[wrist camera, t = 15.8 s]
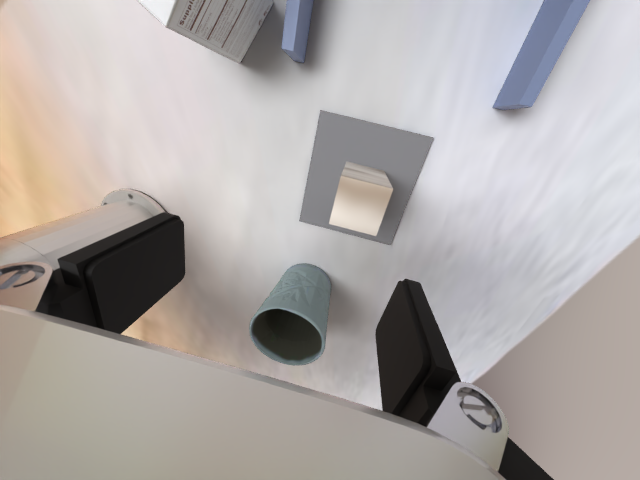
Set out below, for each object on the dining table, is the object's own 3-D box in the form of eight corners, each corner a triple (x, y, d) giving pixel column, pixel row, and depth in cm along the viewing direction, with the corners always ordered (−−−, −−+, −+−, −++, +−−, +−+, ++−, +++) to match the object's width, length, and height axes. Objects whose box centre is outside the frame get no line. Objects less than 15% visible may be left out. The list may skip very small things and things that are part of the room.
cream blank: (372, 206, 33) (376, 236, 24) (337, 197, 33) (328, 223, 25) (383, 170, 31) (393, 188, 22) (346, 161, 31) (340, 175, 22)
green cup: (338, 305, 42) (331, 366, 32) (285, 308, 45) (261, 366, 34) (328, 255, 38) (315, 306, 28) (270, 261, 41) (237, 310, 30)
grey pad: (389, 243, 36) (390, 245, 35) (300, 219, 36) (299, 221, 36) (432, 137, 29) (433, 137, 28) (321, 110, 30) (320, 110, 29)
